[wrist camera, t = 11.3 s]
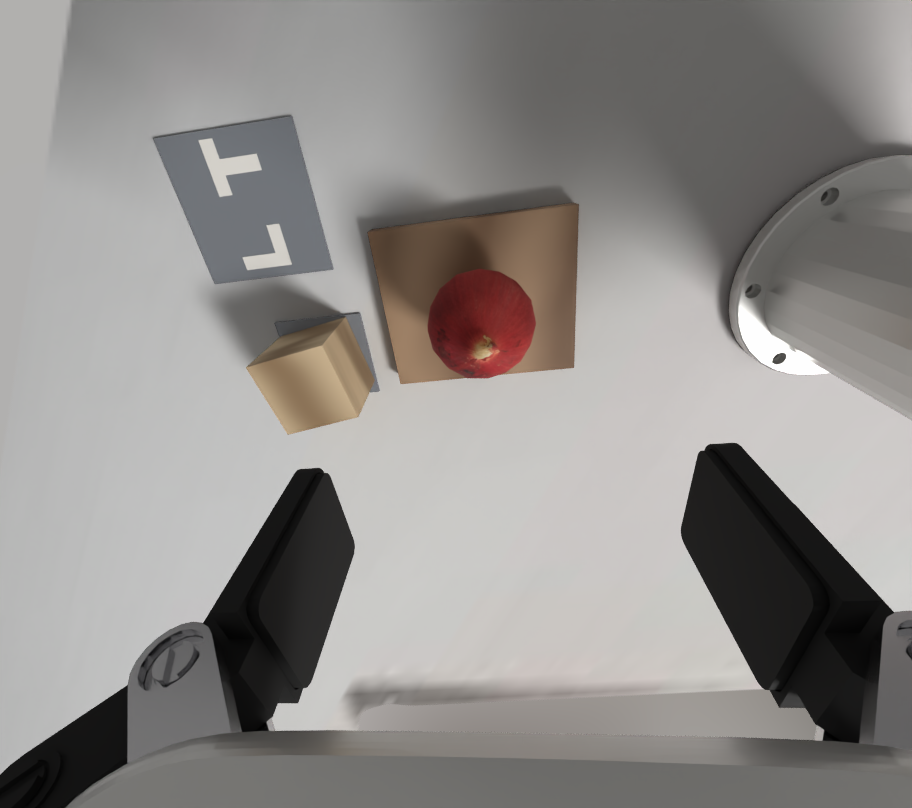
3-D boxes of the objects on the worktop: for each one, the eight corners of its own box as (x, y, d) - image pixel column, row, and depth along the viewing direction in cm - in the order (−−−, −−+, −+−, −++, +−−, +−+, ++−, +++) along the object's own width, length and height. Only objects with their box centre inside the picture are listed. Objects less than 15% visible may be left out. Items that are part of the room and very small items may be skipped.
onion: (495, 362, 27) (502, 429, 20) (418, 322, 26) (398, 379, 19) (544, 286, 24) (572, 333, 17) (461, 238, 23) (456, 268, 16)
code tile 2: (360, 312, 27) (359, 313, 27) (379, 390, 30) (379, 391, 30) (275, 322, 28) (274, 323, 27) (303, 397, 31) (302, 398, 30)
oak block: (345, 316, 27) (322, 345, 23) (374, 380, 29) (358, 416, 25) (280, 336, 28) (245, 367, 24) (314, 396, 30) (287, 434, 26)
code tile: (292, 116, 22) (290, 115, 21) (333, 268, 26) (332, 269, 25) (155, 138, 22) (152, 138, 22) (216, 283, 26) (214, 284, 26)
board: (573, 202, 23) (578, 204, 22) (570, 360, 28) (574, 367, 27) (371, 229, 24) (367, 232, 23) (403, 376, 29) (400, 384, 28)
